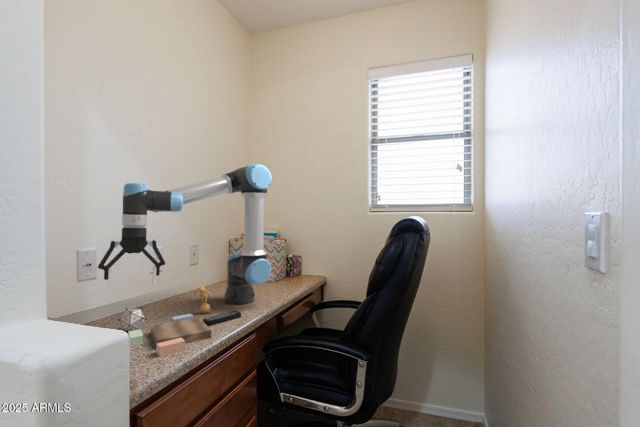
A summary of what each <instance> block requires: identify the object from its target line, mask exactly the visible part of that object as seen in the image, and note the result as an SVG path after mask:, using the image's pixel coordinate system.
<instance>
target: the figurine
mask: <svg viewBox="0 0 640 427" xmlns="http://www.w3.org/2000/svg"><path fill="white" fill-rule="evenodd" d="M197 292H199V297H200V298H201V303H202V304H201V306H200V308H199V310H200V312H201V313H202V314H208V313H209V312H210V311H211V306H210V304H209V303H207V300H208V296H207V294H205V293H208V294H209V295H210V296H211V297H212V298H213V297H214V296H213V294H212V293H211V292H210V291H209V290H207V289H206V288H205V285H202V286H200V288H198V289H196V290H194V297H196V296H197ZM204 299H205V300H204ZM203 301H204V302H203Z"/></svg>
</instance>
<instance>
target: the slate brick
mask: <svg viewBox="0 0 640 427" xmlns="http://www.w3.org/2000/svg"><path fill="white" fill-rule="evenodd" d="M193 318H195V317H194V314H192V313H187V314H181V315H176V316H171V317H170V322H176V321H181V320H187V319H193Z"/></svg>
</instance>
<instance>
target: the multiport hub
mask: <svg viewBox="0 0 640 427" xmlns="http://www.w3.org/2000/svg"><path fill="white" fill-rule="evenodd" d="M240 318H242V312H240V311H237V310H231V311H229V312H224V313H220V314H217V315H213V316H207V317H205V318H203V319H202V321H203V322H204V323H205V324H206V325H207V326H208V327H211V326H216V325H218V324H222V323H226V322H229V321H232V320H236V319H240Z"/></svg>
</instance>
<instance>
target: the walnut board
mask: <svg viewBox="0 0 640 427" xmlns="http://www.w3.org/2000/svg"><path fill="white" fill-rule="evenodd" d="M150 335H151V336H152V339H153V341H154V344H155V345H156V344H157V343H161V342H165V341H169V340H173V339H177V338H182V339H184V340H185V344H188V343H192V342H197V341H202V340H207V339H211V338H212V329H211V328H210V326H207V325H206V324H205V323H204V322H203V319H201V318H200V317H194V318H193V319H187V320H181V321H176V322H171V321H170V322H165V323H160V324H153V325H150Z"/></svg>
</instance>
